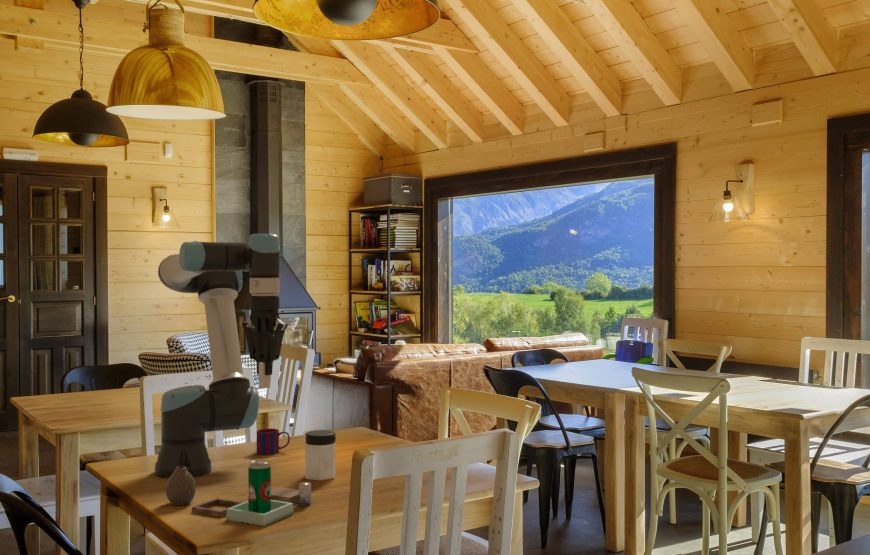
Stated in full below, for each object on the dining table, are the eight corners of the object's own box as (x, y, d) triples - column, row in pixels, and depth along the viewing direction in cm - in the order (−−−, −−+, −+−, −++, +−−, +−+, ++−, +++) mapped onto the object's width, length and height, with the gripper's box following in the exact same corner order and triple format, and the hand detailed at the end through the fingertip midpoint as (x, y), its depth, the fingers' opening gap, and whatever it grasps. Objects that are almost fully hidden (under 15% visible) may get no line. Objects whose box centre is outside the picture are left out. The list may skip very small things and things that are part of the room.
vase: (167, 508, 200) (167, 471, 200) (164, 501, 207) (164, 465, 206) (197, 505, 203) (197, 469, 203) (193, 498, 209) (193, 462, 209)
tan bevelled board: (259, 503, 206) (259, 493, 206) (276, 496, 213) (276, 486, 213) (289, 508, 203) (289, 497, 202) (306, 501, 209) (306, 490, 209)
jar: (312, 482, 225) (312, 437, 225) (299, 475, 232) (299, 432, 232) (342, 477, 230) (342, 433, 230) (328, 471, 237) (328, 428, 237)
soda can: (246, 512, 195) (246, 460, 195) (268, 510, 197) (268, 458, 197) (250, 518, 190) (250, 465, 190) (273, 516, 192) (273, 463, 192)
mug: (258, 450, 264) (258, 428, 264) (291, 450, 264) (291, 428, 264) (254, 455, 257) (254, 432, 257) (287, 455, 257) (287, 432, 257)
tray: (226, 519, 192) (226, 508, 192) (256, 508, 201) (256, 497, 201) (264, 526, 187) (264, 515, 187) (293, 514, 196) (293, 503, 196)
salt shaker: (295, 505, 204) (295, 484, 203) (303, 502, 206) (303, 481, 206) (306, 506, 202) (306, 485, 202) (313, 503, 205) (313, 483, 205)
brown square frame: (192, 512, 197) (192, 507, 197) (217, 502, 205) (217, 497, 205) (221, 517, 193) (221, 512, 193) (246, 507, 201) (246, 502, 201)
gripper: (234, 294, 215) (234, 387, 215) (275, 295, 209) (275, 391, 209) (253, 293, 221) (253, 384, 222) (294, 294, 216) (294, 387, 216)
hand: (264, 387), depth 215 cm, fingers closed
